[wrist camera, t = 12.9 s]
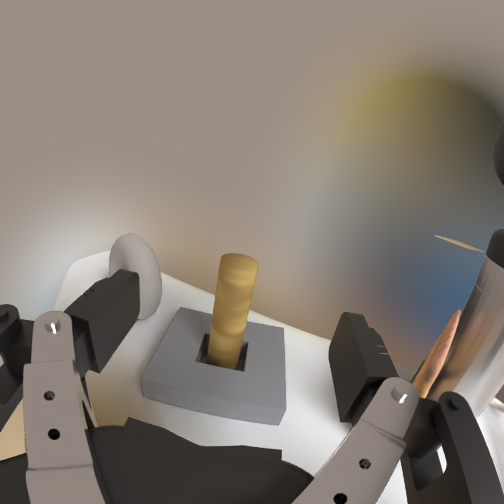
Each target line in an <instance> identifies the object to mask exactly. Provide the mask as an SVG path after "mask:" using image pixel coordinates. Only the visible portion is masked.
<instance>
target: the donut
mask: <svg viewBox="0 0 504 504" xmlns="http://www.w3.org/2000/svg"><path fill="white" fill-rule="evenodd" d="M119 269H125V270H129V271H133V272H137V273H138V274H139V279H140V313H139V316H138V319H145V318H147V317H149V316H151V315H153V314H154V313H155V311H156V310H157V308H158V306H159V303H160V300H161V294H162V279H161V274H160V268H159V265H158V262H157V259H156V256H155V254H154V252H153V250H152V248H151V246H150V245H149V244H148V243H147V242H146V241H145V240H144V239H143V238H142V237H140V236H138V235H135V234H131V233H129V234H126V235H123V236H121V237H119V238H118V239H117V240H116V241H115V243H114V245H113V246H112V248H111V252H110V257H109V274H110V277H111V276H112V275H113V274H114V273H115V272H116V271H117V270H119Z"/></svg>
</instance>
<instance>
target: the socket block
mask: <svg viewBox="0 0 504 504" xmlns="http://www.w3.org/2000/svg"><path fill="white" fill-rule="evenodd" d="M212 317H213V314H209V313H204V312H200V311H195V310H191V309H186V308H182V307H180V308H179V310H178V312H177V314H176V315H175V317H174V319H173V321H172V322H171V324H170V326H169V328H168V330H167V331H166V333H165V335H164V337H163V339H162V340H161V342H160V344H159V346H158V348H157V349H156V351H155V353H154V355H153V357H152V359H151V360H150V362H149V364H148V366H147V368H146V370H145V372H144V373H143V375H142V377H141V383H142V392H143V397H146V398H149V399H153V400H156V401H159V402H163V403H166V404H170V405H174V406H177V407H181V408H185V409H189V410H193V411H197V412H202V413H206V414H211V415H216V416H221V417H226V418H231V419H237V420H243V421H249V422H256V423H263V424H270V425H279V424H280V422H281V419H282V417H283V415H284V413H285V411H286V378H285V347H284V328H281V327H275V326H270V325H264V324H259V323H253V322H248V321H247V322H246V326H245V331H244V336H243V341H242V345H241V350H240V355H239V359H243V360H244V366H243V371H238V370H233V369H227V368H223V367H218V366H213V365H208V364H204V363H200V362H199V361H200V358H201V355H202V352H203V351H204V352H208V347H209V339H210V332H211V324H212Z"/></svg>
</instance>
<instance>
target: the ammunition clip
mask: <svg viewBox="0 0 504 504" xmlns="http://www.w3.org/2000/svg"><path fill="white" fill-rule="evenodd" d="M460 314H461V310H460V309H458V310H457V311H456V312H455V313H454V315H453V316H452V317H451V319H450V320H449V322H448V324H447V325H446V327H445V329H444V331H443V332H442V334H441V336H440V338H439V339H438V340H437V341H436V342H435V344H434V346H433V347H432V349H431V351H430V353H429V355H428V356H427V358H426V360H424V361H423V363H422V364H421V366H420V368H419V369H418V371H417V373H416V374H415V376H414V377H413V379H412V381H411V382H410V383H411V384H412V385H413V386H414V387H415V388H416V389H417V391H418V393H419V397H421V398H426V396H427V394H428V391H429V389H430V388H431V386H432V384H433V383H434V381H435V379H436V377H437V376H438V374H439V372H440V370H441V368H442V366H443V364H444V361H445V358H446V356H447V354H448V351H449V348H450V346H451V343H452V340H453V337H454V335H455V331H456V329H457V325H458V323H459V319H460Z"/></svg>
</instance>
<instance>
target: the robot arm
mask: <svg viewBox="0 0 504 504" xmlns="http://www.w3.org/2000/svg"><path fill="white" fill-rule="evenodd" d="M494 166H495V171H496V173H497V176H498V178H499V179H500V181H501V182H502V183H503V185H504V119H503V121H502V123H501V126H500V128H499V131H498V134H497V138H496V141H495V147H494ZM139 313H140V279H139V274H138V273H137V272H133V271H129V270H125V269H119V270H117V271H116V272H115V273H114V274H113V275H112V276H111V277H110V278H104V279H102V280H100V281H97V282H96V283H94V284H93V285H92V286H91V287H90V288H89V290H87V291H85V292H84V293H83V296H82V295H81V296H80V297H79V298H78V299H77V300H76V301H74V302H73V303H72V304H71V305H70V306H69V307H68V308H67V309H66V310H65V311H64V312H60V311H50V312H46V313H44V314H42V315H40V316H39V317H38V318H37V319H36V320H35V321H30V320H23V319H20V316H19V313H18V310H17V308H16V307H15V306H13V305H9V304H4V305H0V355H1V357H2V359H3V362H4V364H3V365H2V366H1V367H0V432H1V430H2V429H3V427H4V425H5V424H6V422H7V421H8V419H9V418H10V416H11V414H12V413H13V412H14V410H15V408H16V407H17V405H18V404H19V402H20V401H21V400H22V398H23V410H24V428H25V439H26V449H27V453H24V454H21V455H18V456H14V457H11V458H8V459H5V460H1V461H0V504H375V503H376V502H377V500H378V498H379V497H380V495H381V493H382V492H383V490H384V488H385V486H386V485H387V483H388V481H389V479H390V477H391V475H392V473H393V472H394V470H395V468H396V466H397V464H398V462H399V460H400V461H401V466H402V471H403V477H404V483H405V489H406V495H407V502H408V504H504V494H503V491H502V488H501V484H500V481H499V478H498V475H497V472H496V469H495V466H494V463H493V460H492V458H491V455H490V452H489V450H488V447H487V445H486V442H485V440H484V437H483V435H482V432H481V430H480V428H479V425H478V423H477V421H476V418H477V417H478V416H480V414H481V413H482V412H483V411H484V410H485V408H486V407H487V406H488V404H489V403H490V402H491V401H492V399H493V398H494V397H495V395H496V394H497V393H498V391H499V390H500V388H501V387H502V386H503V384H504V229H499V230H497V231H495V232H494V234H493V235H492V237H491V240H490V243H489V246H488V249H487V252H486V255H485V258H484V262H483V264H482V267H481V269H480V272H479V275H478V277H477V280H476V282H475V285H474V287H473V290H472V292H471V294H470V297H469V299H468V301H467V304H466V306H465V308H464V310H463V312H462V314H461V316H460V319H459V323H458V325H457V329H456V331H455V335H454V337H453V340H452V343H451V346H450V348H449V351H448V354H447V356H446V358H445V361H444V364H443V366H442V368H441V370H440V372H439V374H438V376H437V377H436V379H435V381H434V383H433V384H432V386H431V388H430V389H429V391H428V394H427V396H426V398H421V397H419V393H418V391H417V389H416V388H415V387H414V386H413V385H412V384H411V383H410V382H408V381H407V380H405V379H402V378H399V377H398V374H397V372H396V370H395V367H394V365H393V363H392V361H391V358H390V356H389V355H388V352H387V349H386V348H385V347H384V346H385V345H384V343H383V340H382V338H381V336H380V335H379V334H378V333H377V332H376V331H375V330H374V329H373V328H369V327H368V325H367V323H366V320H365V318H364V316H363V315H362V314H356V313H349V312H344V313H343V314H342V315H341V318H340V320H339V323H338V325H337V328H336V331H335V333H334V336H333V339H332V341H331V343H330V347H329V363H330V368H331V373H332V378H333V383H334V389H335V394H336V400H337V406H338V412H339V417H340V422H349V423H352V429H351V430H350V431H349V433H348V434H347V436H346V437H345V438H344V440H343V441H342V442H341V444H340V445H339V446H338V448H337V449H336V450H335V451H334V453H333V454H332V455H331V456H330V458H329V459H328V460H327V461H326V463H325V464H324V465H323V466H322V467H321V469H320V470H319V471H318V472H317V473H316V474H315V475H314V477H313V476H312V475H311V474H309V473H308V472H306V471H305V470H303V469H302V468H300V467H298V466H296V465H294V464H291V463H289V462H286V461H283V460H281V458H282V450H277V449H267V448H259V447H251V446H244V445H241V446H199V445H197V444H195V443H192V442H190V441H188V440H186V439H184V438H182V437H180V436H178V435H176V434H174V433H172V432H170V431H168V430H166V429H164V428H161V427H158V426H155V425H151V424H148V423H145V422H142V421H139V420H136V419H133V418H130V417H128V419H127V421H126V423H125V425H124V426H116V425H109V426H100V427H98V425H97V422H96V418H95V415H94V411H93V407H92V402H91V398H90V393H89V388H88V383H87V379H86V375H85V374H86V373H87V371H88V370H92V371H94V372H97V373H99V374H100V373H101V371H102V370H103V368H104V367H105V365H106V364H107V362H108V361H109V359H110V358H111V356H112V355H113V353H114V352H115V351H116V349H117V348H118V346H119V345H120V343H121V342H122V341H123V339H124V338H125V336H126V335H127V333H128V332H129V331H130V329H131V328H132V326H133V325H134V324H135V322H136V321H137V319H138V316H139ZM441 446H442V448H443V451H444V454H445V458H446V462H447V466H446V470H445V472H444V474H443V471H442V468H441V464H440V460H439V457H438V453H437V450H438V449H439V448H440V447H441Z"/></svg>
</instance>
